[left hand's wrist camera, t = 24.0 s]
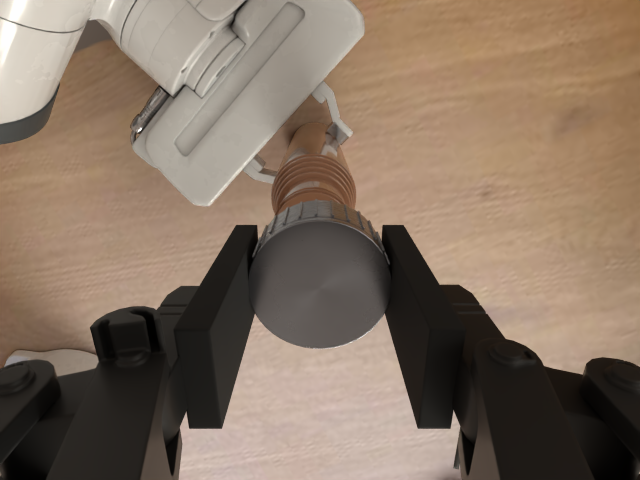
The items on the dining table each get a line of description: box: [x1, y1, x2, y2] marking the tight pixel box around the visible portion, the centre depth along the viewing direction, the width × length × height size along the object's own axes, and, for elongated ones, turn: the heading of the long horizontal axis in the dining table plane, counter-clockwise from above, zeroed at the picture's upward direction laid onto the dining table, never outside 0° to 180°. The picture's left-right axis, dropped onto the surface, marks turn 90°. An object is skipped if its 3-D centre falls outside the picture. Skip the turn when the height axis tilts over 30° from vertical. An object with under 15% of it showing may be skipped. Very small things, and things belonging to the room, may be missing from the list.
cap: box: [248, 199, 392, 349], centre depth 13 cm, size 5×5×2 cm
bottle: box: [271, 122, 356, 217], centre depth 28 cm, size 5×5×24 cm
